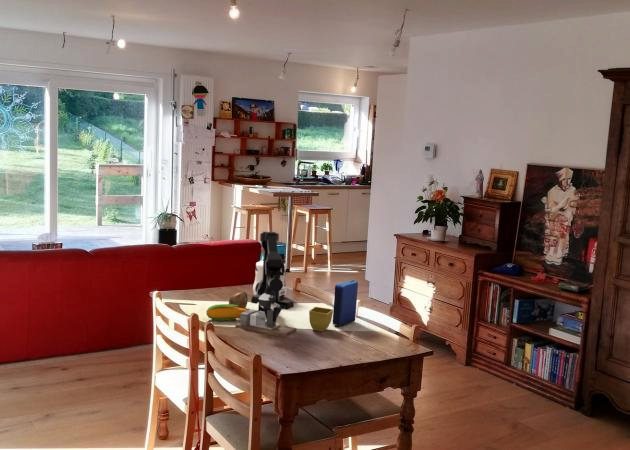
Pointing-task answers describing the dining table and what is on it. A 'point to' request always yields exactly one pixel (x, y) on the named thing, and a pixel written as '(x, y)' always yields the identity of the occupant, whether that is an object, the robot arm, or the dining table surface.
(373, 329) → the dining table surface
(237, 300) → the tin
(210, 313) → the corn
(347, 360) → the dining table surface
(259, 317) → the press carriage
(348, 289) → the book
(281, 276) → the milk container
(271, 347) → the dining table surface
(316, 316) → the flower pot
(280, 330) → the press base
